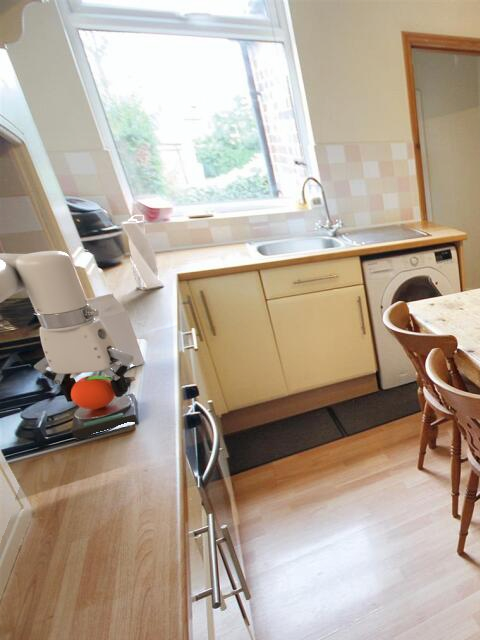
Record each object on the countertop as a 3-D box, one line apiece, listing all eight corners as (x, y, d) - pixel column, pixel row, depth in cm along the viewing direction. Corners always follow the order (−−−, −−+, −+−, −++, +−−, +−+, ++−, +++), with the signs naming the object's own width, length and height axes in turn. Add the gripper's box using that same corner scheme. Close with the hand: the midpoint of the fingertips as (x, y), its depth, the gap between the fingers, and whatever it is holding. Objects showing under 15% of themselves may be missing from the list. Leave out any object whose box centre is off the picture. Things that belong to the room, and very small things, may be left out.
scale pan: (77, 407, 98) (75, 404, 98) (131, 394, 103) (130, 390, 103) (74, 427, 91) (72, 423, 91) (132, 411, 97) (131, 408, 96)
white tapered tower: (161, 282, 191) (139, 213, 180) (169, 286, 187) (147, 214, 176) (136, 287, 185) (112, 215, 174) (144, 291, 180) (120, 217, 169)
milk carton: (98, 370, 119) (70, 299, 112) (128, 358, 125) (103, 291, 118) (115, 375, 117) (88, 303, 109) (145, 363, 123) (121, 294, 115)
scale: (79, 417, 99) (73, 405, 98) (137, 402, 105) (133, 391, 104) (75, 441, 91) (70, 429, 90) (138, 424, 97) (134, 412, 96)
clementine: (132, 395, 101) (121, 366, 98) (118, 411, 95) (106, 381, 92) (87, 401, 99) (75, 371, 96) (70, 418, 93) (57, 387, 90)
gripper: (128, 307, 94) (154, 383, 101) (27, 313, 91) (61, 391, 98) (107, 320, 87) (136, 401, 94) (-3, 327, 84) (36, 410, 91)
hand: (98, 396), depth 96 cm, fingers closed on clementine, 8 cm apart
